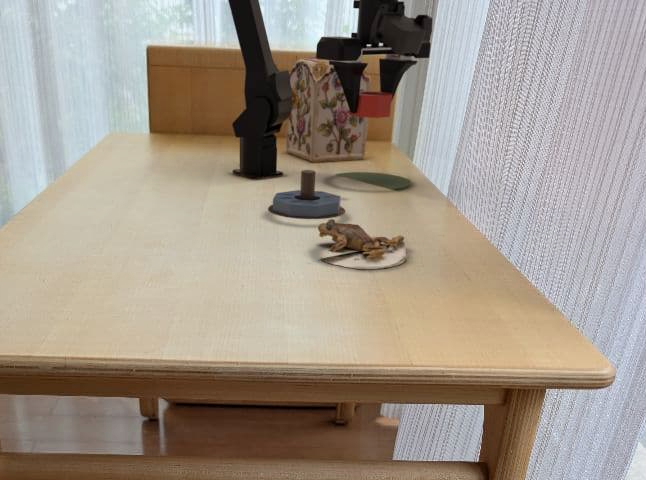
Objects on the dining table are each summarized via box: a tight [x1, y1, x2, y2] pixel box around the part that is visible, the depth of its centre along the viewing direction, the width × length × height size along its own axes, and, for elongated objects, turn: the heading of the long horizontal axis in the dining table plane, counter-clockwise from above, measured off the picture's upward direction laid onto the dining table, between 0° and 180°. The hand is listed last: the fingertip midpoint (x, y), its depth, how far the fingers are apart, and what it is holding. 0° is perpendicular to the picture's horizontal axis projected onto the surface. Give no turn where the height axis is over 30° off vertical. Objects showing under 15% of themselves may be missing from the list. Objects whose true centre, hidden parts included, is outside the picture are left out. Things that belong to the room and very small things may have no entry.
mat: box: [333, 171, 411, 192], centre depth 136 cm, size 14×14×1 cm
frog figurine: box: [317, 218, 408, 270], centre depth 99 cm, size 12×12×4 cm
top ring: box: [349, 90, 393, 119], centre depth 128 cm, size 6×6×3 cm
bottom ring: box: [272, 189, 342, 218], centre depth 115 cm, size 9×9×2 cm
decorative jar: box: [285, 56, 372, 163], centre depth 151 cm, size 12×12×18 cm
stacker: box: [267, 169, 346, 220], centre depth 114 cm, size 11×11×6 cm
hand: (369, 111), depth 128 cm, fingers closed on top ring, 6 cm apart
